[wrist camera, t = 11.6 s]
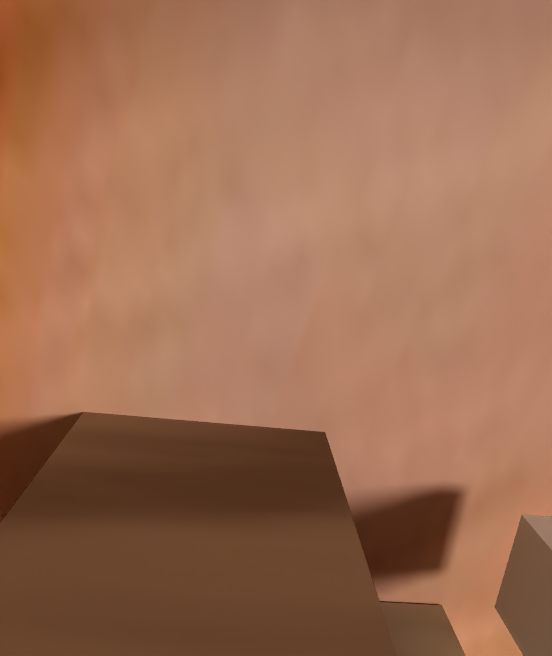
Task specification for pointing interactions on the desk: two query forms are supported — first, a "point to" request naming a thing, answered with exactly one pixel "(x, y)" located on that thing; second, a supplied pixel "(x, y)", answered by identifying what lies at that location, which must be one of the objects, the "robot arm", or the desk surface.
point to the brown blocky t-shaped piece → (186, 547)
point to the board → (420, 630)
